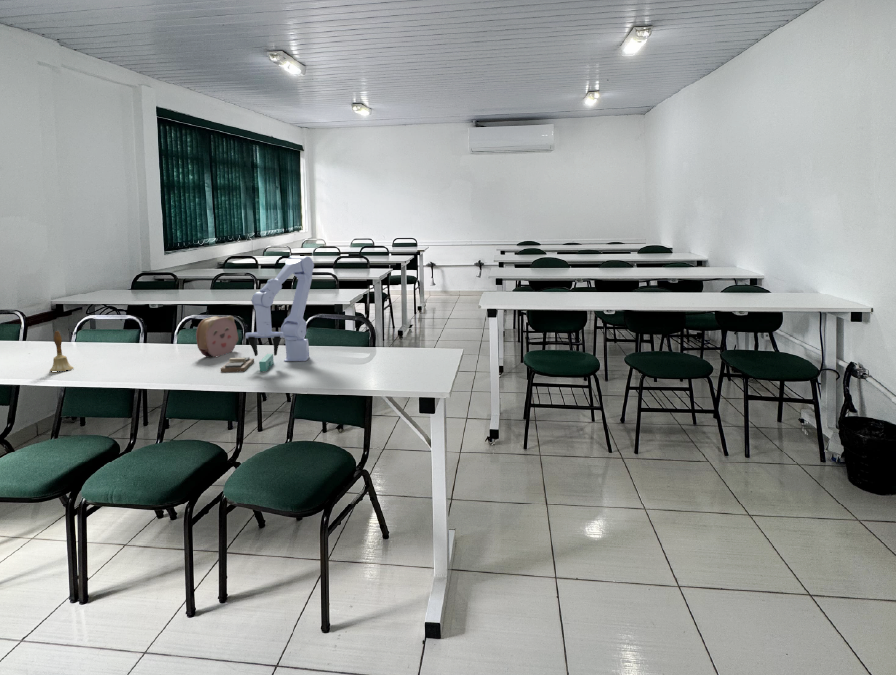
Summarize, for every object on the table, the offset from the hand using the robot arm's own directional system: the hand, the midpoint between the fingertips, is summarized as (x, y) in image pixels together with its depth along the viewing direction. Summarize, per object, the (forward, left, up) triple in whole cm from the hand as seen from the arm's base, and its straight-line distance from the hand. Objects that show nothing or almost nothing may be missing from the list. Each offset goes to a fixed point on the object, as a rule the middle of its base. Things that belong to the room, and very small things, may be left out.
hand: (265, 355), depth 240 cm
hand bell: (+82, -4, -5) cm, 82 cm away
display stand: (+12, -2, -5) cm, 13 cm away
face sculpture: (+27, -27, -5) cm, 39 cm away
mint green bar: (0, 0, -5) cm, 5 cm away
